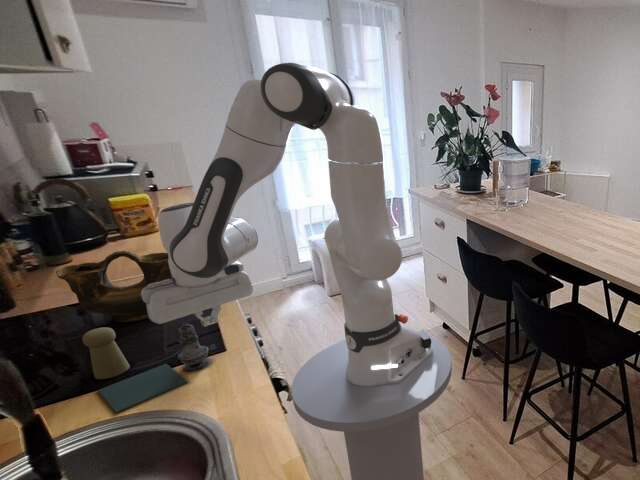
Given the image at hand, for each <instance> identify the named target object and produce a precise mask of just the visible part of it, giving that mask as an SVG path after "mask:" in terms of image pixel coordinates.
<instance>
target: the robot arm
mask: <svg viewBox="0 0 640 480" xmlns="http://www.w3.org/2000/svg"><path fill="white" fill-rule="evenodd" d="M295 125H299V126H301V127H304V128H307V129H309V130H313V131H315V130H320V131H321V132H322V134H323V136H324V137H325V141H326V147H327V163H328V175H329V187H330V188H329V189H330V197H331V201H332V203H333V206H334V208H335V211H336V215H337V218H336V219H334V220H332V221H331V222H330V223H329V224H328V225H327V227H326V229H325V231H324V236H323V238H324V242H325V245H326V247H327V250H328V254H329V257H330V261H331V265H332V269H333V272H334V277H335V280H336V282H337V285H338V288H339V291H340V295H341V300H342V307H343V313H344V314H343V315H344V321H345V322H344V325H343V327H344V335H345V339H346V342H347V346H348V365H347V370H346V378H347V380H348V381H349V382H351V383H352V384H355V385H358V386H377V385H382V384H398V383H401V382H402V381H403V380H404V379H405V378H407V377H408V376H409V375H410V374H411V373H412V372H413V371H414V370H415V369H417V368H418V367H419V366H420V365H421V364H422V363H423V362H424V361H425V360H426V359H428V358H429V357H430V356H431V355H432V354H433V349H432V347H431V339H430V337H431V336H430V335H429V334H428V333H427V332H426V331H425V329H421V330H416V329H415V328H412V327H410V326H407V325H405V324H407V323H408V321H409V317H408V316H407V315H404V314H403V313H401V314H398V313H397V312H395V311H394V305H393V303H394V302H393V293H392V287H391V285H390V283H389V281H388V279H389V278H391V277H392V276H394V275H395V274H396V273H397V272H398V270H399V269H400V267H401V265H402V262H403V251H402V249H401V247H400V245H399V242H398V241H397V238H396V236H395V232H394V228H393V223H392V218H391V215H390V211H389V206H388V202H387V193H386V177H385V155H384V144H383V138H382V133H381V128H380V124H379V120H378V118H377V116H376V115H375V114H374V113H373V112H372V111H370V110H369V109H367V108H365V107H362V106H359V105H356V97H355V94H354V91H353V89H352V87H351V86H350V85H349V84H348V83H347V81H346V80H344V79H343V78H341V77H340V76H339V75H337V74H335V73H332V72H328V71H325V70H323V69H321V68H319V67H316V66H312V65H306V64H299V63H296V62H281V63H278V64H275V65H273V66H271V67H269V68H268V69H267V70H266V71H265V72H264V74H263V75H262V77H261V79H249V80H247V81H245V82H244V83H243V84H242V85H241V86H240V88H239V90H238V92H237V93H236V95H235V98H234V100H233V102H232V104H231V107H230V110H229V112H228V115H227V119H226V122H225V125H224V130H223V133H222V135H221V136H222V137H221V140H220V143H219V145H218V147H217V150H216V153H215V155H214V156H213V158H212V161H211V163H210V165H209V166H208V168H207V170H206V172H205V174H204V176H203V178H202V180H201V183H200V186H199V188H198V191H197V193H196V196H195V198H194V201H193V202H185V203H179V204H176V205H172V206H168V207H165V208H163V209H161V211H160V212H159V213H158V216H157V225H158V231H159V236H160V240H161V243H162V246H163V248H164V250H165V252H166V253H168V257H169V258H168V264H169V268H170V271H171V275H172V278H170V279H166V280H163V281H160V282H156V283H151V284H148V285H147V287H145V288H144V289H143V290H142V291H141V297H142V300H143V301H144V302H145V303H146V306H147V312H148V316H149V318H148V319H149V320H150V321H151V322H152V323H155V324H157V325H162V324H165V323H168V322H172V321H174V320H177V319H181V318H184V317H188V316H191V315H193V316H194V317H196V318H197V319H198V320H199V321H200V323H201V326H202V327H203V328H206V327H208V326H211V325H214V324H217V323H219V317H218V316H219V315H220V312H221V310H222V307H221V306H222V305H225V304H227V303H231V302H234V301H237V300H240V299H244V298H247V297H249V296H251V295H252V294H253V292H254V287H253V285H252V281H251V279H250V276H249V274H248V273H247V272H245V271H244V270H245V267H244V264H243V263H242V262H240V261H239V260H241V259H242V258H244V257H245V256H247V255H248V254H250V253H252V252H253V251H254V250H255V249H256V248H257V246H258V243H259V236H258V233H257V231H256V228H255V227H254V226H253V225H252V223H250V222H249V221H247V220H246V219H244V218H242V217H237V216H232V215H233V212H234V209H235V207H236V205H237V203H238V201H239V199H240V198H241V197H242V196H243V195H244V194H245V193H246V192H247V191H248V190H249V189H251V188H252V187H253V186H254V185H256V184H258V183H259V182H261V181H262V180H264V179H266V178H267V177H269V176H271V175H272V174H274V173H275V171H276V170H277V169H278V167H279V165H280V164H281V163H282V160H283V158H284V156H285V153H286V151H287V147H288V144H289V141H290V136H291V134H292V130H293V128H294V127H295ZM147 288H149V289H147ZM209 309H212V311H211V313H210V315H208V316H204V317H203V316H202V315H204V312H203V311H205V310H209ZM429 336H430V337H429Z"/></svg>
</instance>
